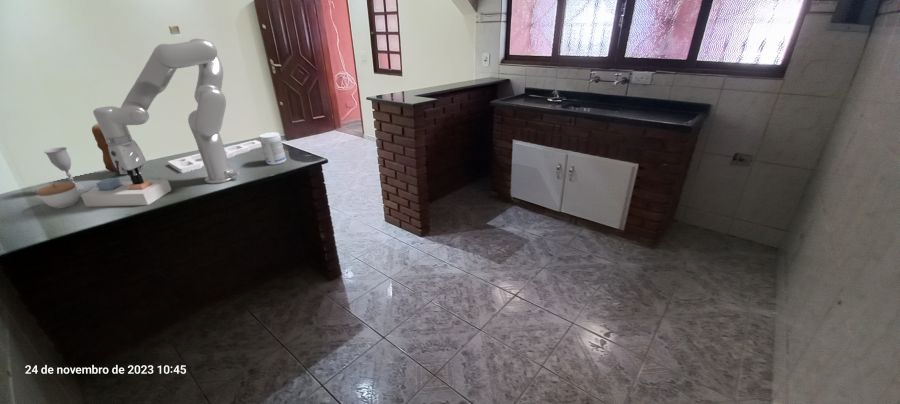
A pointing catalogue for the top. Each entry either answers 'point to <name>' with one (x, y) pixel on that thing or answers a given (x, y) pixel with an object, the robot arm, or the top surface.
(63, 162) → the chalice
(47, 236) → the top surface
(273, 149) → the supplement tub
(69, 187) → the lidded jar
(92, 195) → the key panel
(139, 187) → the terracotta key
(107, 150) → the butternut squash
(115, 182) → the slate-blue key
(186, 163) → the holder
